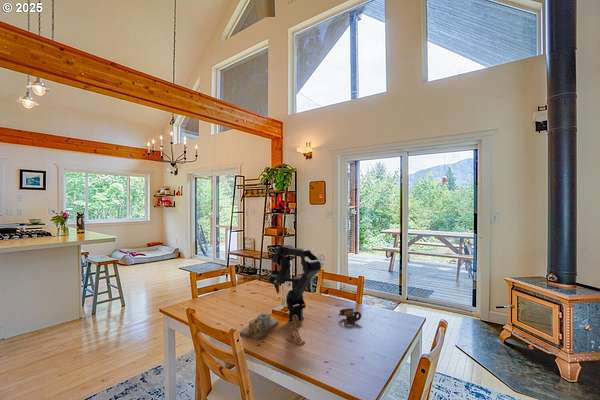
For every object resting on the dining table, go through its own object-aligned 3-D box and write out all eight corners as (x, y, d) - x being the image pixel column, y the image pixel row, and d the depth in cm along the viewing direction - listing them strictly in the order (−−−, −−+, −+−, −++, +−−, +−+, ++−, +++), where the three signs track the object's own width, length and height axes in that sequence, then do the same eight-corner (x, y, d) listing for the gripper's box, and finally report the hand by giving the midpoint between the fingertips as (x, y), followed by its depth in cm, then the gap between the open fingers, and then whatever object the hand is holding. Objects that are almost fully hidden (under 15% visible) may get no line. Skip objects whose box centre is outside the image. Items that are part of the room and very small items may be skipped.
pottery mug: (338, 326, 148) (336, 309, 152) (343, 327, 155) (340, 311, 160) (361, 323, 144) (358, 306, 148) (365, 324, 152) (362, 308, 156)
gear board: (278, 324, 149) (278, 311, 149) (262, 339, 132) (262, 325, 132) (258, 320, 153) (258, 308, 153) (239, 335, 136) (239, 322, 137)
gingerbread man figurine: (285, 339, 133) (285, 313, 133) (291, 336, 135) (291, 311, 135) (299, 346, 126) (299, 319, 126) (305, 343, 129) (305, 316, 129)
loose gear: (272, 321, 148) (272, 314, 148) (266, 327, 142) (266, 319, 142) (261, 320, 151) (261, 312, 151) (254, 325, 145) (254, 317, 145)
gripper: (264, 269, 159) (264, 297, 159) (295, 271, 152) (295, 301, 152) (272, 264, 169) (273, 291, 169) (302, 267, 163) (302, 294, 163)
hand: (285, 294), depth 163 cm, fingers open, 9 cm apart
